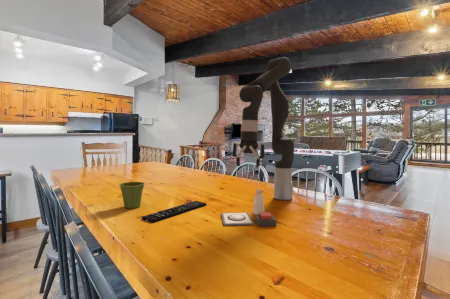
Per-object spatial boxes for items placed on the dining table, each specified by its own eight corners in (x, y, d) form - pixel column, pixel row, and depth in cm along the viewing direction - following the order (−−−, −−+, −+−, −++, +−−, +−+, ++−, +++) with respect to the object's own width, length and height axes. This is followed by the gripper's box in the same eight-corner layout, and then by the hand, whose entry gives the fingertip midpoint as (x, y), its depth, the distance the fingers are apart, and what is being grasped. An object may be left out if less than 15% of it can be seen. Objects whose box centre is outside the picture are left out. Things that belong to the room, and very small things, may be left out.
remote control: (141, 220, 105) (140, 215, 105) (195, 203, 130) (195, 199, 130) (152, 224, 100) (152, 219, 100) (206, 206, 125) (206, 202, 125)
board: (247, 213, 113) (247, 211, 113) (254, 225, 99) (254, 222, 99) (221, 214, 112) (221, 212, 112) (223, 225, 98) (223, 223, 98)
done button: (269, 216, 104) (269, 212, 104) (271, 219, 100) (272, 215, 99) (259, 216, 103) (259, 212, 103) (261, 220, 99) (261, 215, 99)
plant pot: (150, 206, 123) (149, 183, 122) (126, 212, 114) (125, 187, 113) (138, 201, 131) (137, 180, 130) (115, 206, 122) (114, 183, 121)
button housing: (271, 219, 105) (271, 213, 105) (276, 226, 98) (276, 219, 98) (254, 220, 105) (255, 214, 105) (258, 226, 98) (258, 220, 98)
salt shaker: (251, 211, 116) (252, 188, 115) (263, 211, 116) (263, 187, 116) (253, 215, 111) (254, 190, 110) (266, 215, 111) (266, 190, 110)
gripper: (266, 131, 115) (264, 167, 115) (236, 130, 119) (234, 165, 119) (264, 130, 108) (262, 168, 108) (232, 129, 112) (230, 166, 112)
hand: (247, 166), depth 114 cm, fingers open, 8 cm apart
